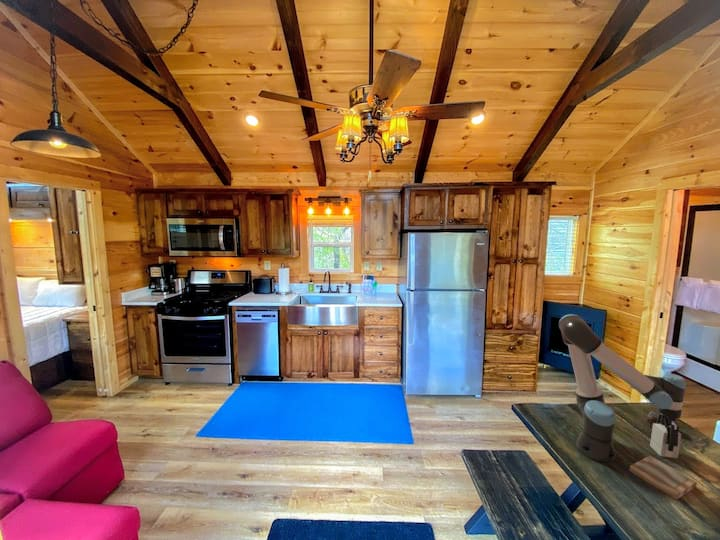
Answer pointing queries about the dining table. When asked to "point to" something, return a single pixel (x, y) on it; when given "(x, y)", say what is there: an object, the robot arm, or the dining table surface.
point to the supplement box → (662, 440)
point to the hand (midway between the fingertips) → (663, 449)
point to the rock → (652, 417)
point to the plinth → (663, 477)
